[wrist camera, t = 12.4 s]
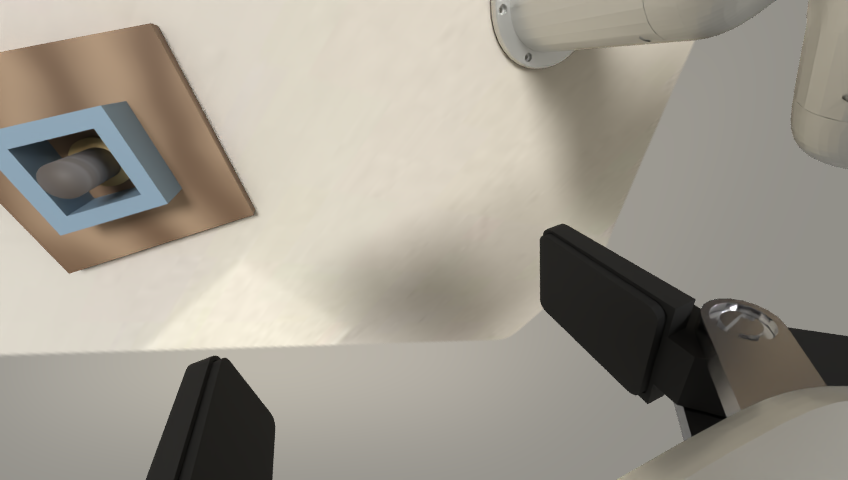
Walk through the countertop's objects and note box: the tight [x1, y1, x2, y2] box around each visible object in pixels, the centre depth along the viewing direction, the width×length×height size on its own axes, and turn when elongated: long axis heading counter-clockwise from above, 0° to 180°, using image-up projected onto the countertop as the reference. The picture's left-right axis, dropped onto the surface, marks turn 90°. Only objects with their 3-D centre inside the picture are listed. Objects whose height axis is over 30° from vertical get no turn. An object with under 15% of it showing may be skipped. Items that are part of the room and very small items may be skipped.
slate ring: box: [0, 101, 182, 236], centre depth 24 cm, size 7×7×4 cm
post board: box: [0, 23, 255, 273], centre depth 24 cm, size 16×16×8 cm
